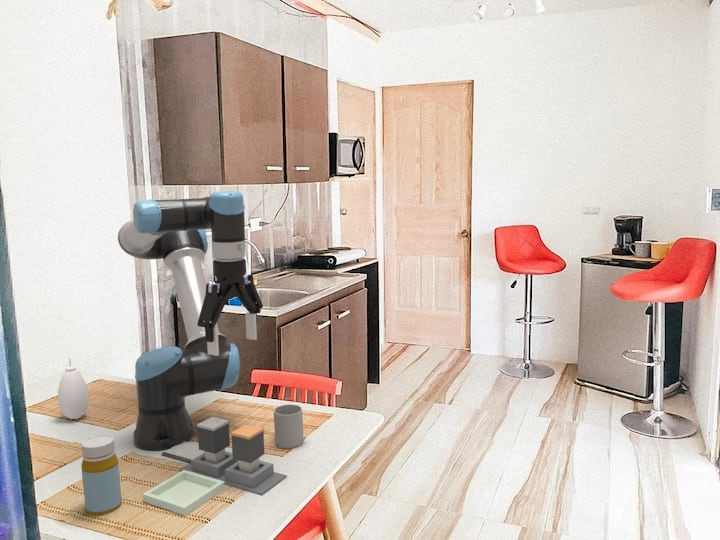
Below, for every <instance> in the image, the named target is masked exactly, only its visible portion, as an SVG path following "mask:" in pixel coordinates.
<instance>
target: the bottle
mask: <svg viewBox="0 0 720 540" xmlns="http://www.w3.org/2000/svg"><path fill="white" fill-rule="evenodd" d="M115 448H116V445H115V438H114V437H113V435H109V434H98V435H94V436H90V437H88V438H86V439H84V440H82V442H81V453H82V462H81V476H82V477H81V478H82V487H83V497H84V498H83V499H84V507H85V512H86V513H87V514H89V515H91V516H92V515H93V516H103V515H107V514H110V513H113V512H114V511H116V510H118V509H119V508H120V507H121V506H122V502H123V501H122V500H123V499H122V489H121V479H120V466H119V458H118V456H117V454H116V449H115Z"/></svg>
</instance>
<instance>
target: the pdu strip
mask: <svg viewBox="0 0 720 540" xmlns="http://www.w3.org/2000/svg"><path fill="white" fill-rule="evenodd" d="M196 427H197V430H196V431H197V438H198V439H197V445H198V450H199V451H201V452H202V451H203V453H202V454H199V455H198V456H196V457H195V458H193V459H191V458H187V457H184V456H180V455H176V454H172V453H169V452H167V451H162V452H161V457H165V458H168V459H172V460H176V461H179V462H183V463H187V464H186V465H185V466H183V467H181V468H179V472H181V471H183V470H187V471H190V472H193V473H197V474H200V475H204V476H207V477H211V478H214V479H217V480H221V481H224V482H225V486H228V487H230V488H231V487H232V488H235V489H239V490H242V491H246V492H249V493H252V494H256V495H259V496H263V495H265V494H266V493H268V492H269V491H270V490H272V489H273V488H274V487H276V486H277V485H279V484H280V483H281V482H283V481H284V480H285V479H286V478H287V477H288V475H287V474H283V473H280V472H276V471H274V463H272V462H267V461H265V460H260V459H259V466H260V469H258V470H257V471H256V472H254V473H253V474H251V473H247V472H244V471H240V470H239V460H236V459H233V455H232V452H230V451H226V448H228V447H230V446H231V439H230V421H229V420H228V419H224V418H220V417H215V416H211V417H209V418H207V419H205V420H203V421H201V422H199V423H197V424H196Z"/></svg>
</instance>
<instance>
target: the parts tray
mask: <svg viewBox="0 0 720 540" xmlns="http://www.w3.org/2000/svg"><path fill="white" fill-rule="evenodd" d="M224 490H226V485H225V482H224V481H221V480H217V479H214V478H211V477H207V476H204V475H200V474H197V473H193V472H190V471H187V470H183V471H179V472H178V473H176V474H174V475H173V476H171V477H169V478H167V479H165V480H164V481H162V482H160V483H159V484H157V485H156V486H153V487H152V488H150V489H149V490H146V491H145V492H143V493H142V502H143V503H146V504H148V505H151V506H155V507H158V508H160V509H163V510H166V511H169V512H172V513H175V514H179V515H181V516H184V517H186V516H188V515H189V514H190V513H192V512H193V511H195V510H196V509H198V508H199V507H201V506H202V505H203V504H205V503H207V502H209V500H212V498H214V497H215V496H217V495H218V494H220V493H221V492H223V491H224Z"/></svg>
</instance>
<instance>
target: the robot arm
mask: <svg viewBox="0 0 720 540" xmlns="http://www.w3.org/2000/svg"><path fill="white" fill-rule="evenodd" d="M245 208H246V206H245V202H244V196H243V193H241V192H240V191H233V190H230V191H229V190H223V191H222V190H221V191H213V192H211V194H210V196H205V197H204V196H203V197H197V198H194V197H193V198H180V199H147V200H140V201H139V200H138V201H136V202H135V203H134V204H133V209H132V218H133V219H131V220H128V221H126V223H124V224H123V225H122V226H121V228H120V229H119V231H118V234H117V241H118V245H119V246H120V248H121V250H122V251H124V252H125V254H127V255H129V256H131V257H134V258H136V259H140V260H162V259H163V263H164V266H165V268H168V269H170V270H171V273H172V277H173V278H172V279H173V282H174V286H175V291H176V294H177V298H178V302H179V303H178V304H179V308H180V312H181V315H182V320H183V323H184V329H185V333H186V336H187V342H186V343H185V345H184V348H183V350H184V351H182V349H181V348H180V347H178V346H169V347H168V346H164V347H159V348H155V349H152V350H149V351H146V352H145V353H143V354H142V355H140V356H139V357H138V358H137V359H136V361H135V363H134V366H135V367H134V369H135V370H134V371H135V373H134V374H135V375H134V379H135V382H136V383H135V384H136V385H135V386H136V396H137V407H138V415H137V420H136V424H135V429H134V430H133V437H132V438H133V443H134V445H135V447H137V448H139V449H141V450H147V451H159V450H160V451H162V450H168V449H173V448H174V447H176V446H179V445H181V444H183V443H185V442H186V443H188V442H190V441H191V440H192V439H193V437H194V435H195V431H194V429H195V428H194V424H193V422H192V420H191V417H190V414H189V413H188V410H187V407H186V401H185V399H186V398H185V397H188V396H195V395H200V394H203V393H204V394H205V393H208V392H209V393H210V392H214V391H222V390H223V389H228V388H232V387H233V386H235V385H236V383H237V382H238V380H239V375H240V369H241V368H240V366H241V365H240V361H241V360H240V353H239V349H238V347H237V345H236V344H235V343H232V342H231V343H229V342H228V338H227V336H226V335H225V334H224V333H220V330H219V326H218V321H219V318H220V316H221V314H222V311H223V309H224V307H225V306H226V304H227V303H228V302H229V301H230V300H233V299H234V298H237V299H238V300H239V301H240V303H241V304H242V305H243V306H244V308H245V309H246V310H247V312H245V313H244V316H245V333H246V334H245V335H246V336H245V337H246V339H248V340H252V341H256V340H257V339H258V337H257V336H258V334H257V332H258V331H257V329H258V328H257V325H258V314H261V312H262V309H263V307H264V306H263V301H262V300H261V298H260V295H259V293H258V290H257V288H256V285H255V283H254V275H253V274H249V273H247V260H246V259H245V257H246V245H245V244H246V231H245V229H246V228H245V225H246V224H245ZM206 230H210V231H211V251H212V252H211V253H212V254H211V255H212V258H213V259H214V260H212V261H213V262H212V269H213V276H214V277H215V278H216V282H215V283H207V280H206V277H205V273H204V269H203V265H202V262H203V260H204V259H205V255H206V254H207V253H208V249H209V248H208V247H209V242H208V240H207V238H208V237H207V233H206Z"/></svg>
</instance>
